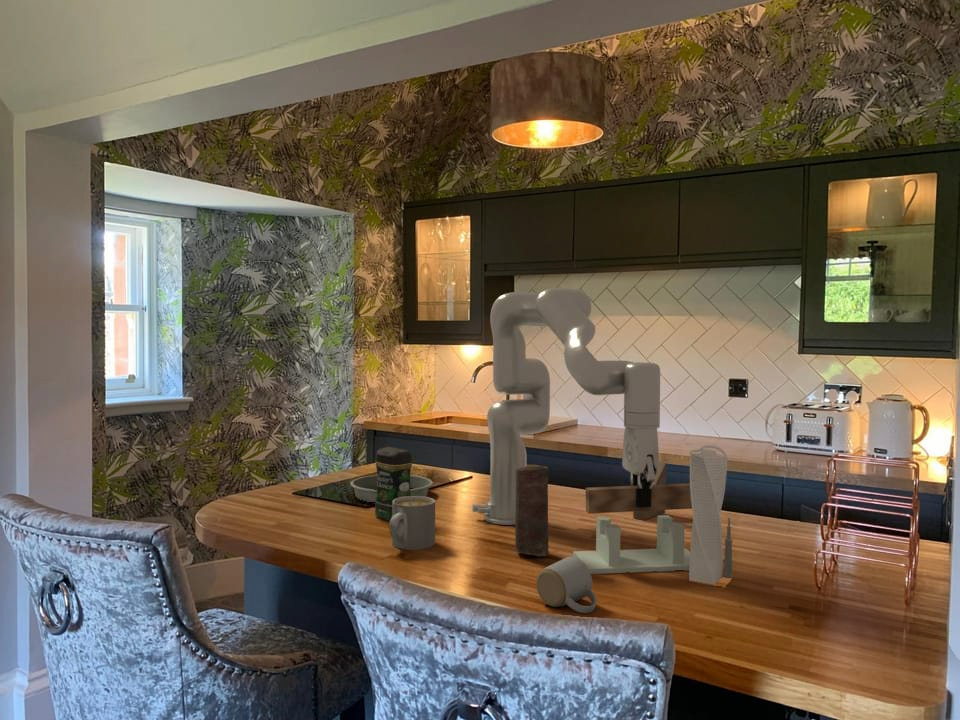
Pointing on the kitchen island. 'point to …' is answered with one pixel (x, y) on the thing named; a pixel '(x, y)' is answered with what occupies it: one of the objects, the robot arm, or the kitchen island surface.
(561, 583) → the ceramic mug
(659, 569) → the notched stand
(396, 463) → the coffee jar
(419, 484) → the cake pan
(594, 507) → the walnut rail
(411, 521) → the coffee mug
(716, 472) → the skyscraper
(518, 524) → the candle
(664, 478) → the brown wooden upright piece
